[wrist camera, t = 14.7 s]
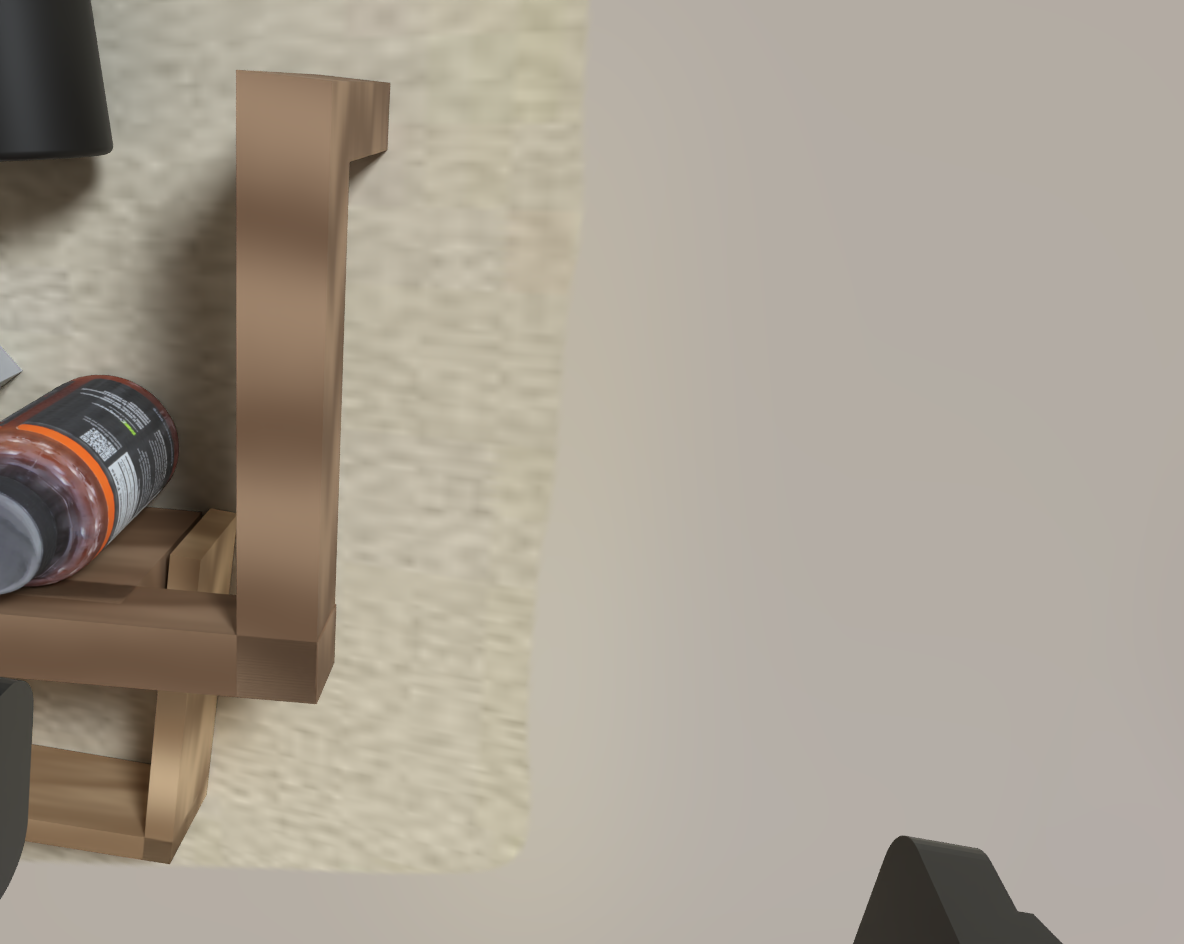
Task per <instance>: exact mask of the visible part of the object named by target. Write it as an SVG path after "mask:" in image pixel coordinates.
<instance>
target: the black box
mask: <svg viewBox="0 0 1184 944" xmlns="http://www.w3.org/2000/svg"><path fill="white" fill-rule="evenodd" d="M112 149H113V141H112V135H111V128H110V122H109V116H108V109H107V103H106V96H105V90H104V83H103V77H102V71H101V64H100V58H99V51H98V45H97V38H96V32H95V26H94V19H93V13H92V6H91V0H0V161H23V160H46V159H65V158H80V157H91V156H100V155H105V154H108V153H110V152H111V151H112Z"/></svg>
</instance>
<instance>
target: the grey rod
mask: <svg viewBox="0 0 1184 944" xmlns="http://www.w3.org/2000/svg"><path fill="white" fill-rule="evenodd" d="M22 371H23V370H22V369H21V368H20V367H19V366H18V365H17V364H16V363H15V361H14V360H13V359H12V358H11V357H10V356H9V355H8V353H7V352H6V351H5V350H4V349H3V348H2V347H1V346H0V387H2V386H3V385H4V384H6V383H7V382H8V381H10V380H11V379H12V378H14V377H15V376H16V375H18V374H19V373H20V372H22Z"/></svg>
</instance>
